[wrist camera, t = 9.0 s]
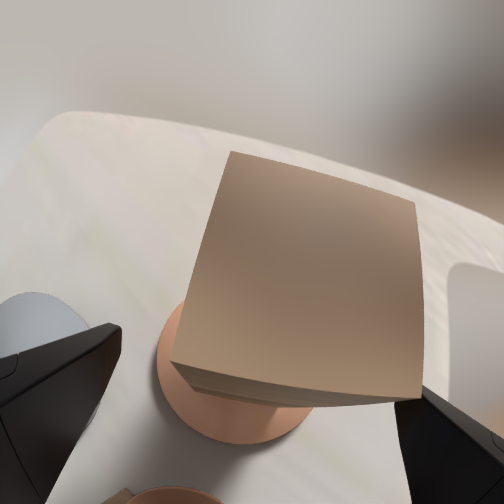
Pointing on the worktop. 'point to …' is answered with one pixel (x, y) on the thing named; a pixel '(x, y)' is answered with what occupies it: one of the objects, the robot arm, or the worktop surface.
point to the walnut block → (303, 292)
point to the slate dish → (36, 323)
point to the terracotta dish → (219, 403)
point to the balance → (164, 496)
